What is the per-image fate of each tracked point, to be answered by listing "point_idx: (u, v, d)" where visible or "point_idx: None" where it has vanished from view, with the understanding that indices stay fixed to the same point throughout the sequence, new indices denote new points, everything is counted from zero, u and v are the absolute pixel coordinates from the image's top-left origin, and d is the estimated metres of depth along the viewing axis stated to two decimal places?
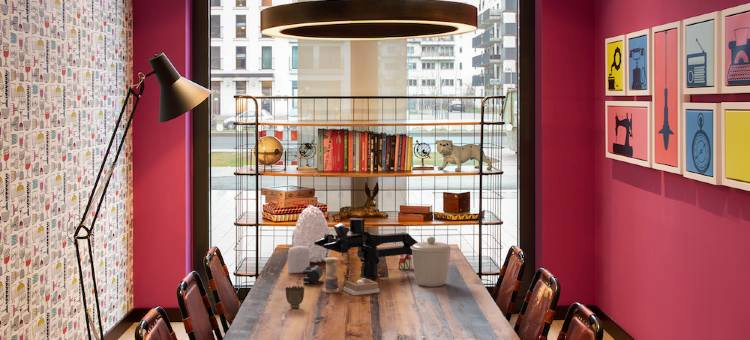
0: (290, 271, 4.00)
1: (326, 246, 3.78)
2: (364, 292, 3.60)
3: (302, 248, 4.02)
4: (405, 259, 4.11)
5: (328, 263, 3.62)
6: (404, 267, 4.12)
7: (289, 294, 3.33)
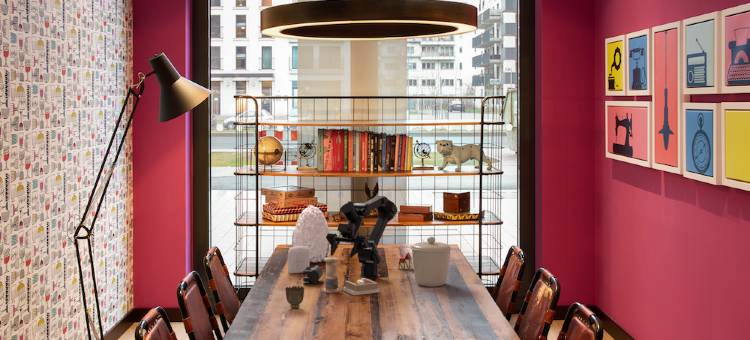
0: (290, 271, 4.00)
1: (352, 255, 3.70)
2: (364, 292, 3.60)
3: (302, 248, 4.02)
4: (405, 259, 4.11)
5: (328, 263, 3.62)
6: (404, 267, 4.12)
7: (289, 294, 3.33)
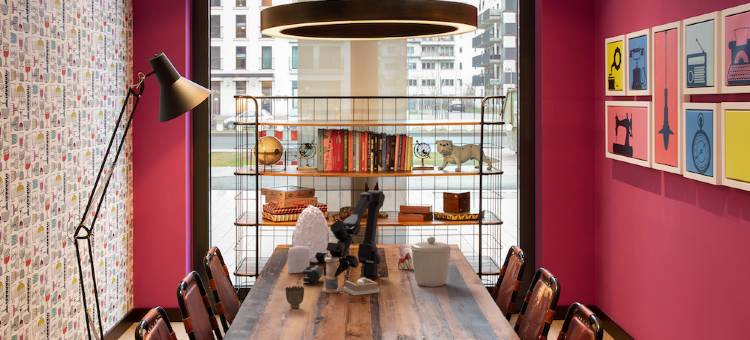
0: (290, 271, 4.00)
1: (337, 274, 3.63)
2: (364, 292, 3.60)
3: (302, 248, 4.02)
4: (405, 259, 4.11)
5: (328, 263, 3.62)
6: (404, 267, 4.11)
7: (289, 294, 3.33)
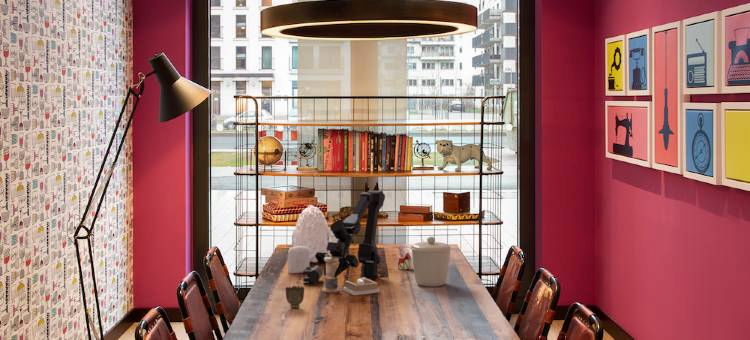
0: (290, 271, 4.00)
1: (337, 274, 3.63)
2: (364, 292, 3.60)
3: (302, 248, 4.02)
4: (404, 259, 4.11)
5: (328, 263, 3.62)
6: (403, 267, 4.11)
7: (289, 294, 3.33)
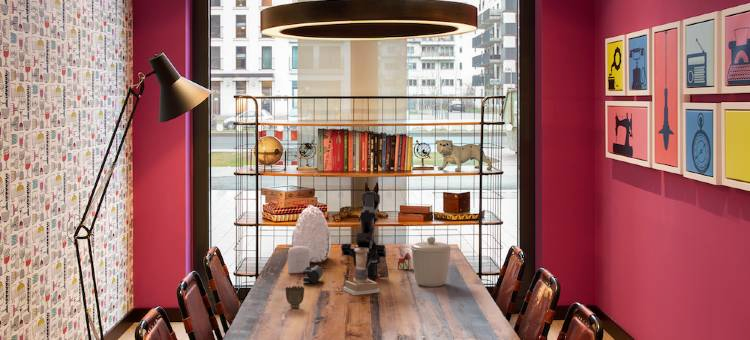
0: (290, 271, 4.00)
1: (368, 264, 3.63)
2: (364, 292, 3.60)
3: (302, 248, 4.02)
4: (404, 259, 4.11)
5: (359, 254, 3.61)
6: (403, 267, 4.11)
7: (289, 294, 3.33)
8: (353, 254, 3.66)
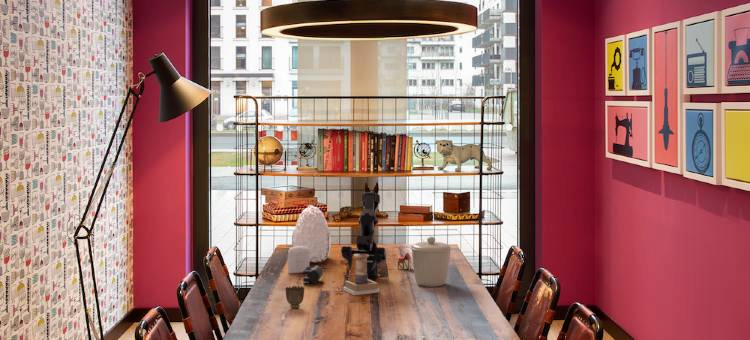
0: (290, 271, 4.00)
1: (373, 267, 3.63)
2: (364, 292, 3.60)
3: (302, 248, 4.02)
4: (404, 259, 4.11)
5: (359, 259, 3.62)
6: (403, 267, 4.11)
7: (289, 294, 3.33)
8: (348, 257, 3.66)
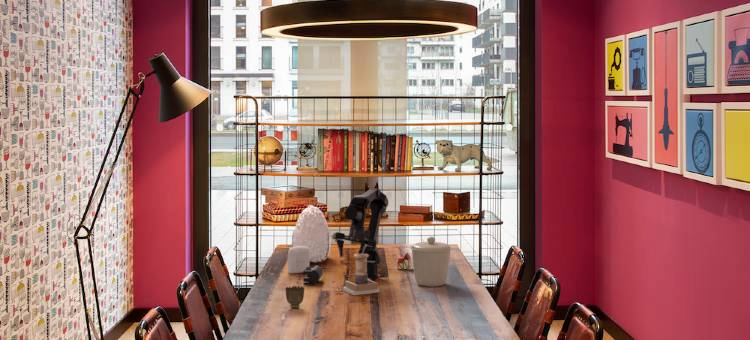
0: (290, 271, 4.00)
1: None
2: (364, 292, 3.60)
3: (302, 248, 4.02)
4: (404, 259, 4.11)
5: (359, 259, 3.62)
6: (403, 267, 4.11)
7: (289, 294, 3.33)
8: (341, 245, 3.74)
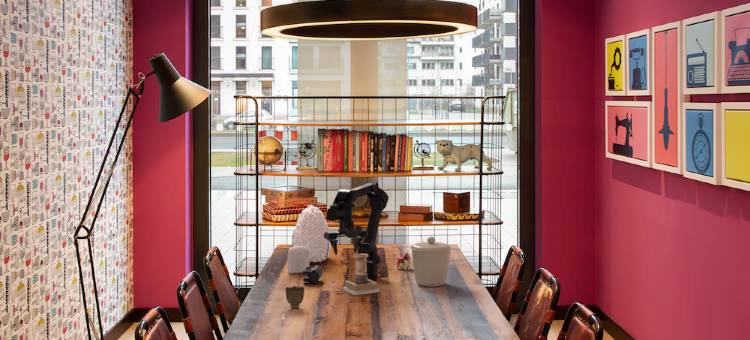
0: (290, 271, 4.00)
1: None
2: (364, 292, 3.60)
3: (302, 248, 4.02)
4: (404, 259, 4.10)
5: (359, 259, 3.62)
6: (403, 267, 4.11)
7: (289, 294, 3.33)
8: (335, 244, 3.75)
